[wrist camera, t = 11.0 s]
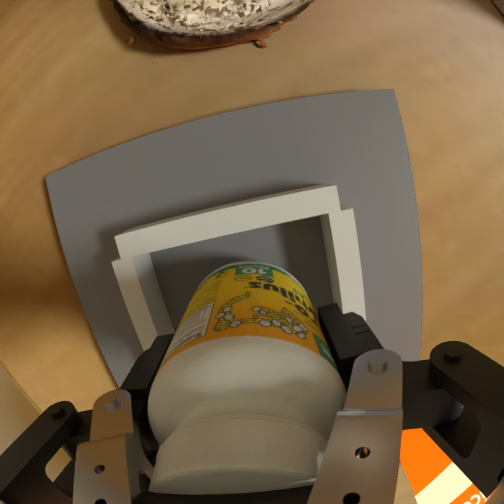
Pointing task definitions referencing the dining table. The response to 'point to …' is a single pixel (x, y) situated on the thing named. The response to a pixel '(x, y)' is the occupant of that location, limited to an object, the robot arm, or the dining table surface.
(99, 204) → the socket board
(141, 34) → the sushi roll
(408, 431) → the orange juice
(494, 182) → the dining table surface
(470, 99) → the dining table surface
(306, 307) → the supplement bottle
